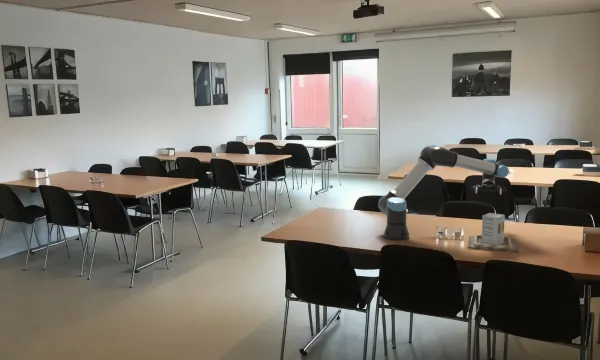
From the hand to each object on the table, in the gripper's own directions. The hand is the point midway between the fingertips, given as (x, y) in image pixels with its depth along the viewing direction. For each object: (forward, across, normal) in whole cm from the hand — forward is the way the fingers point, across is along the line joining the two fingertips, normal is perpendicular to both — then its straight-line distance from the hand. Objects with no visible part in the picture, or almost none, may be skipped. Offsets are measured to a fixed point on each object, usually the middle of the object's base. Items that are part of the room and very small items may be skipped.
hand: (488, 191), depth 301 cm
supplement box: (+17, -3, -27) cm, 32 cm away
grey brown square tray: (+15, -3, -28) cm, 32 cm away
